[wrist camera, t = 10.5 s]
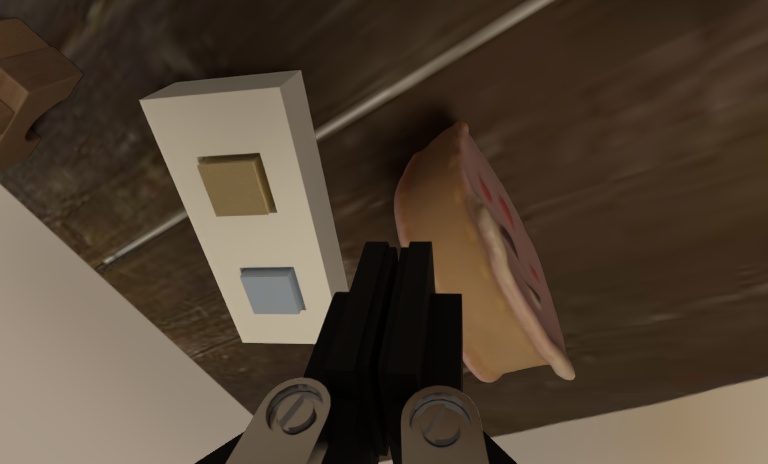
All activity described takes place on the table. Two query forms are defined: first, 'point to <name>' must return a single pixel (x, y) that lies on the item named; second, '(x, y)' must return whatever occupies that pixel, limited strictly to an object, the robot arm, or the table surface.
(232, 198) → the brass button
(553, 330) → the face sculpture
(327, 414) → the robot arm
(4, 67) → the wooden toy
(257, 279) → the slate-blue button
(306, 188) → the button console
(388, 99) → the table surface
